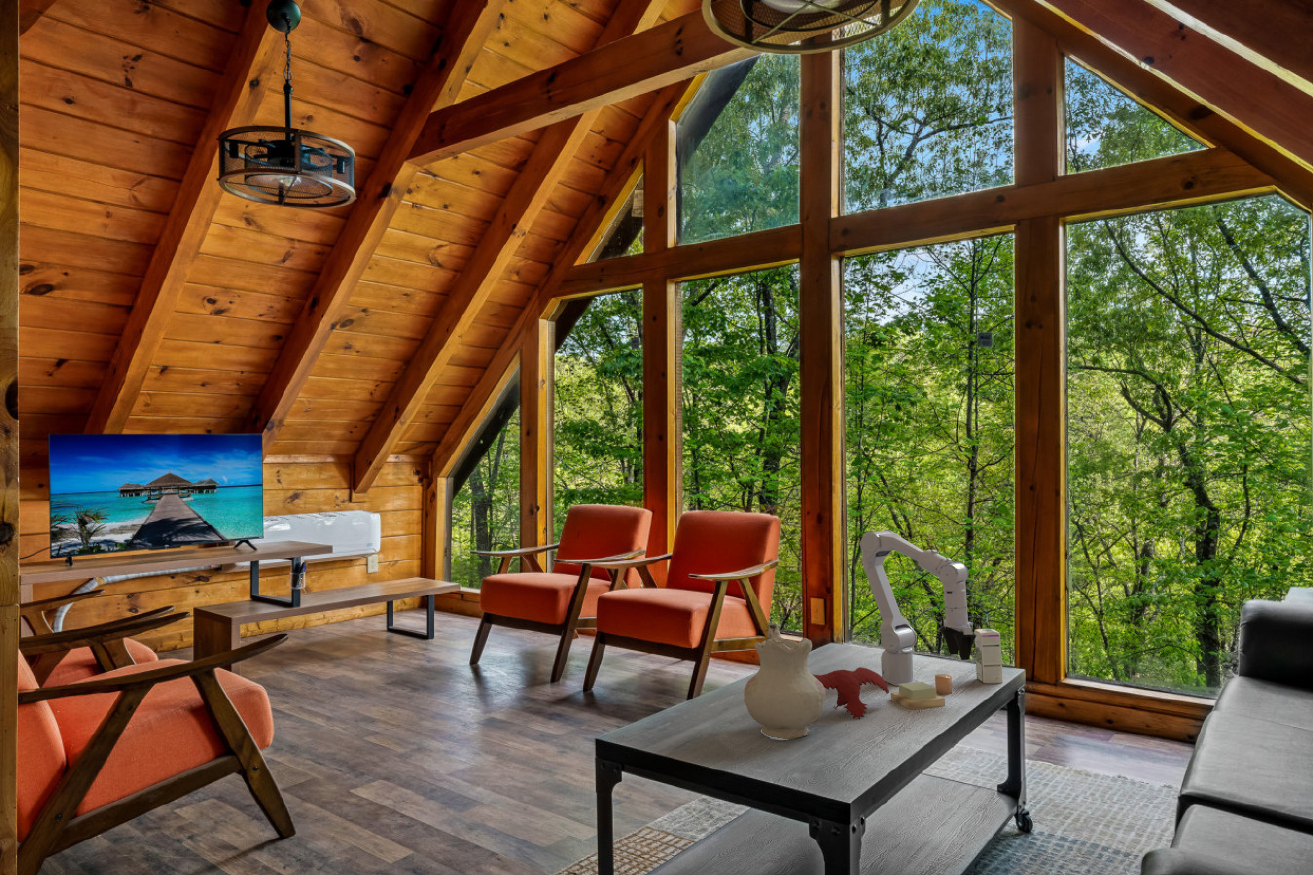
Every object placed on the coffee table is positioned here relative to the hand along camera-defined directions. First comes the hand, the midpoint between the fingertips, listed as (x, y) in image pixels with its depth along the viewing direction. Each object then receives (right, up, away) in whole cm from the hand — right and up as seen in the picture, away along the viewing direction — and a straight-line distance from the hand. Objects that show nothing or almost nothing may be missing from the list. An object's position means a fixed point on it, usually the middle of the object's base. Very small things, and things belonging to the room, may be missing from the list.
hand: (959, 656), depth 236 cm
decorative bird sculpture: (-34, -11, -15) cm, 39 cm away
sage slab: (-14, -9, -7) cm, 18 cm away
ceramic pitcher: (-52, -11, -28) cm, 60 cm away
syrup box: (+13, -10, +13) cm, 21 cm away
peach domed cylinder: (-4, -10, +2) cm, 11 cm away
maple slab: (-14, -11, -7) cm, 19 cm away
